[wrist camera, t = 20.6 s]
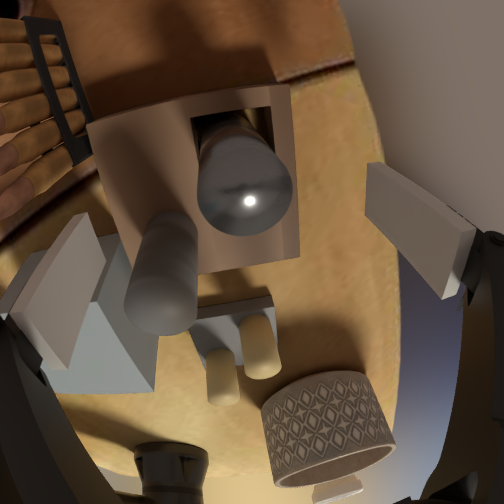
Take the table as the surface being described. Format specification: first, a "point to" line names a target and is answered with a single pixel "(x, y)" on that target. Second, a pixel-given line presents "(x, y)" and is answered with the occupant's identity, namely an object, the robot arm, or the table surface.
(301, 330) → the table surface
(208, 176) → the peg
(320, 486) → the cup
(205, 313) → the board
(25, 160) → the ammunition clip
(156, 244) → the socket board
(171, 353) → the table surface
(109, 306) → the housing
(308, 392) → the planter
